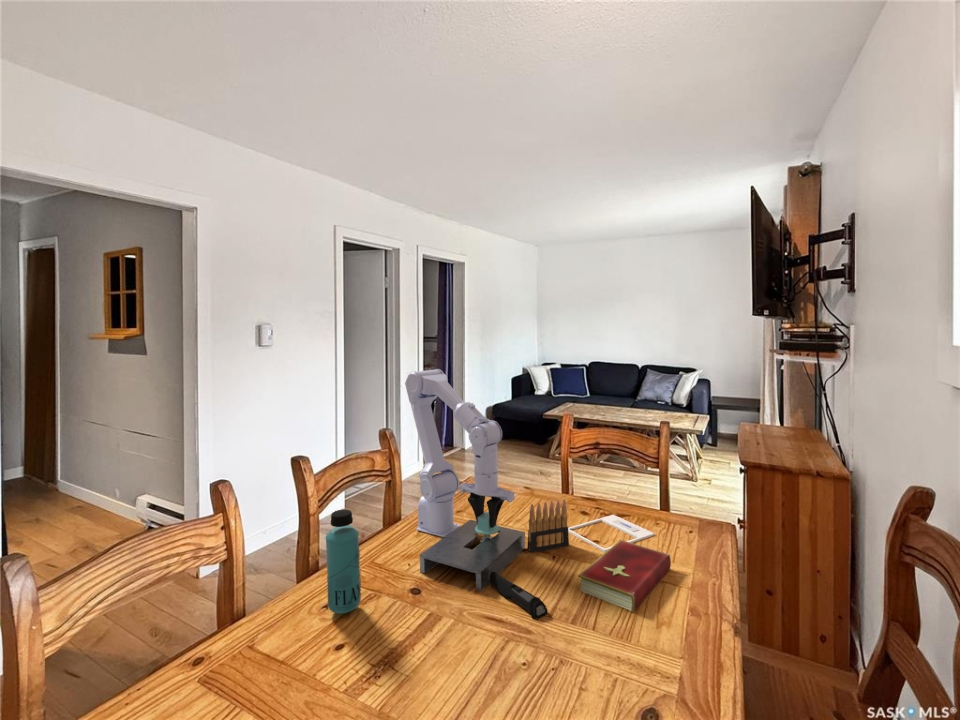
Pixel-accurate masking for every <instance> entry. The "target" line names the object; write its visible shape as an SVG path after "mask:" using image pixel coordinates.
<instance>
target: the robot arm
mask: <svg viewBox="0 0 960 720" xmlns="http://www.w3.org/2000/svg"><path fill="white" fill-rule="evenodd" d="M408 373H409V374H408V375H407V377H406V380H405V382H404V385H405V389H406V393H407V397H408V401H409V403H410V407H411V411H412V416H413V419H414V423H415V428H416V431H417V432H416V433H417V436H418V439H419V440H418V441H419V444H420V448H421V452H422V456H423V460H424V465H425V466H424V467H423V468H422V470H421V471H420V473H419V474H418V477H419V480H420V481H419V483H420V484H419V491H420V493H421V497H420V498H419V501H418V504H417V527H416V531H420V532H423V533H426V534H430V535H433V536H438V537H441V538H444V537H446V536H447V535H449V534H450V533H451V532H453V531H454V530H456V529H457V528H459V527H460V526H461V524H459V523H455V521H454V519H455V518H454V517H455V516H454V515H455V513H454V497H455V496H456V492H457V491H458V490H459V493H460V494H464V493H466V494H469V496H468V497H467V502H468V503H469V504H470V507H471V508H472V510H473V511H472V512H473V514H474V517H475V521H477V525H478V517H479V516H480V515H481V514H483V513H484V512H485V500H486V497H487V498H489V500H487V501H486V506H487V509H488V512H489V524H490V528H493V527H494V526H496V525H497V522H498V518H499V517H498V516H499V513H500V510H501V508H502V506H503V504H504V502H505V501H507V502H508V503H512V502H513V501H515V491H511V490H508V489H506V488H502V487H500V486H499V481H498V479H499V473H498V443H500V442H501V441H502V439H503V430H502V427H501V425H500V424H499V423H498V421H495V420H490V418H487V417H486V416H485V415H483V413H481V412H480V411H479V410H478V408H477V407H476V405H475V404H474V403H473V402H469V401H468V402H467V401H464V400H463V399H462V398H461V396H460V395H459V394H458V392H456V391H455V390H454V388H453V387H452V386H451V384H450V383H449V382H448V381H449V379H448V375H446V374H445V373H444V371H443V370H441V369H440V368H435V369H428V370H420V371H418V370H417V371H416V370H413V371H410V372H408ZM437 398H439V399H440V400H441V401H442V402H444V404H446V406H448V407H449V408H450V409H451V410H452V411H453V417H454V419H455V420H456V421H457V422H458V424H459V425H460V426H461V427H462V428H463V429H464V431H466V433H468V440H469V442H470V444H471V449H472V452H473V455H474V456H473V457H474V461H473V462H474V483H467V482H463V483H461V484H460V480H459V476H458V475H457V473H456V471H455V469H454V465H453V463H450V462H449V461H447V460H446V459H445V456H444V453H443V449H442V445H441V441H440V437H439V433H438V429H437V425H436V424H437V423H436V422H435V418H434V413H433V409H432V403H433V402H434V401H435V400H436V399H437ZM438 472H439V473H438Z"/></svg>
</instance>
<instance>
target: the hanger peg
mask: <svg viewBox="0 0 960 720" xmlns="http://www.w3.org/2000/svg"><path fill="white" fill-rule="evenodd" d="M499 526H500V525H498V524H496V526H494V527H493V528H490V524H489V511H484V513H483V514H481V515H480V516H479V517H478V525H477V526H476V527H475V531H476V532H477V533H478V534H479V535H484V536H482V537H480V539H479V544H480V543H481V542H483V541H484V540H485V539H486V538H489V539H492V538H493V537H494V536H493V537H492V536H491V535H494V534H495V535H496V534H498V533H497V532H498V531H499Z"/></svg>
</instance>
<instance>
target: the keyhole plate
mask: <svg viewBox="0 0 960 720" xmlns="http://www.w3.org/2000/svg"><path fill="white" fill-rule="evenodd" d="M476 526H477V521H476V519H475V520H473V519H469V520H467V521H466V522H465V523H463V524H462V525H460V527H459V528H457V529H456V530H454V531H453V532H451V533H450V534H448V535H447V536H446V537H442V538H441V539H440V540H438V541H437V542H435V543H434V544H433V545H431V546H430V547H428V548H426V549H425V550H424V551H422V552H421V553H420V554H419V572H420V573H422V574H423V575H424V574H426V573H427V572H429V571H430V570H432V569H433V568H434V567H435V566H437V565H438V564H443V565H446V566H450V567H453V568H456V569H460V570H463V571H466V572H470V573H474V574H475V588H476V589H475V590H476V591H478V592H482V591H484V589H485V588H486V587H487V586H489V584H491V583H490V573H491V572H492V571H493V572H496V573H497V574H499V575H500V573H502V572H503V570H505V568H506V567H508V566H509V565H510V564H511V563H512V562H513V561H514V560H515V559H516V558H517V557H518V556H519V555H520V554H521V553H522V552H523V551H524V550H525V549H526V531H521V530H517V529H513V528H509V527H505V526H501V525H498V526H499V531H498V532H497V533H496V534H495V535H494V536H493V538H492V539H489V538H486V539H485V540H484V541H483V542H481V543H480V542H479V544H478V545H476V546H475V547H474V548H468V546H470V545H471V544H472V543H473V542H475V541H476V540H478V538H479V537H478V534H479V533H477V532H476V531H475V527H476Z"/></svg>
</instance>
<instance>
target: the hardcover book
mask: <svg viewBox="0 0 960 720" xmlns="http://www.w3.org/2000/svg"><path fill="white" fill-rule="evenodd" d="M626 541H627V540H624V539H623V540H622V539H620V540H618V541H617V542H616V543H615V544H614V545H611V546H612V547H611V546H610V547H611V548H610V549H609V550H608V551H607V552H603V554H602V555H600V556H599V557H598V558H597V559H595V561H593V562H592V563H591V564H589V566H588V567H586V568H585V569H584V570H583V571H581V572H580V573H579V574H578V575H577V576H578V578H579V579H580V592H582V593H585V594H587V595H590V596H592V597H595V598H597V599H600V600H602V601H605V602H607V603H610V604H612V605H615V606H618V607H619V608H623V609H626V610H628V611H630V613H634V612H635V611H636V610H637V609H638V608H639V606H640V605H641V604H642V603H643V602H644V601H645V599H646V598H647V597H648V596H649V595H650V594H651V592H652V591H653V590H654V589H655V588H656V587H657V585H658V584H659V583H660V582H661V581H662V580H663V578H664V577H665V576H666V575H667V574H668V572H669V571H670V570H671V568H672V567H671V566H672V559H671V555H670V554H669V553H667V552H666V553H665V552H662V551H659V550H657V549H653V548H649V547H647V546H643V545H641V544H640V545H639V544H636V543H634V542H633V543H630V542H626Z"/></svg>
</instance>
